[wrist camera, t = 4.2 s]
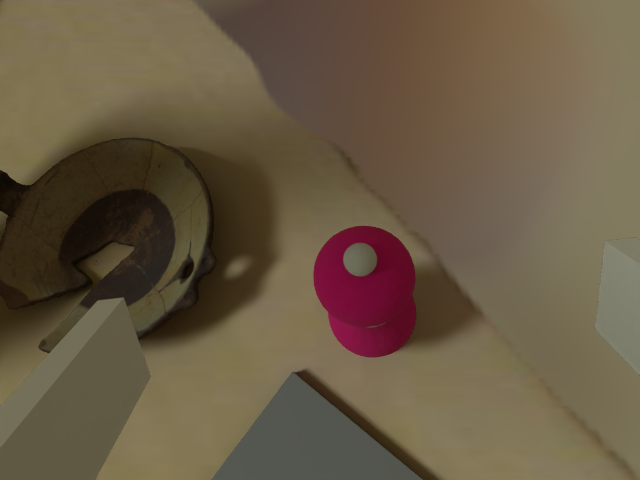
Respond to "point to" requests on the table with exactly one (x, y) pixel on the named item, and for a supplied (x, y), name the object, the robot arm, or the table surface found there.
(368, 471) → the charcoal notebook
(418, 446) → the table surface
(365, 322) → the pepper mill
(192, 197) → the ancient handled dish
